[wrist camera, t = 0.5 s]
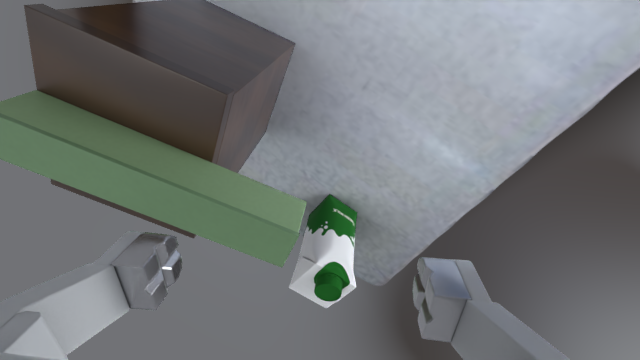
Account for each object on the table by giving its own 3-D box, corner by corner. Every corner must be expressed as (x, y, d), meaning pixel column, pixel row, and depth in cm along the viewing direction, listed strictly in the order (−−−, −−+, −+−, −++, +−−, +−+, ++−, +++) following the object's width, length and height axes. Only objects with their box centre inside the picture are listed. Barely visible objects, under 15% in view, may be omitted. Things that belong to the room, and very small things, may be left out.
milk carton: (363, 212, 60) (361, 299, 43) (336, 236, 64) (325, 324, 48) (328, 188, 58) (312, 270, 41) (302, 215, 62) (279, 299, 46)
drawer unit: (186, -13, 42) (-4, -8, 21) (296, 39, 44) (227, 95, 22) (172, 95, 52) (32, 177, 30) (264, 135, 53) (193, 238, 32)
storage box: (34, 87, 24) (-26, 106, 21) (308, 201, 27) (298, 236, 23) (41, 130, 27) (-12, 154, 23) (293, 231, 29) (282, 267, 26)
